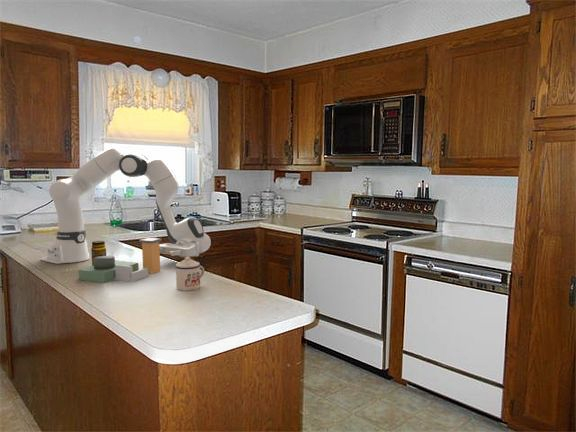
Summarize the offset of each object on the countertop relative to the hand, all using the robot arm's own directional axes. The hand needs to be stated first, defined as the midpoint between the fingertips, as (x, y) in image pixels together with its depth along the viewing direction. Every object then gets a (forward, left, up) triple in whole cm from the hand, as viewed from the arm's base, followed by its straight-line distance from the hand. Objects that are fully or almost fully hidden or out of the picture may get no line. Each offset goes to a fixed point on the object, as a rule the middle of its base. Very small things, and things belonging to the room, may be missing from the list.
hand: (163, 252), depth 198 cm
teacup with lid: (+30, -20, -7) cm, 37 cm away
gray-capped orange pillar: (0, -7, -7) cm, 10 cm away
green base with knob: (-7, -20, -7) cm, 22 cm away
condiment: (-26, -12, -7) cm, 30 cm away
